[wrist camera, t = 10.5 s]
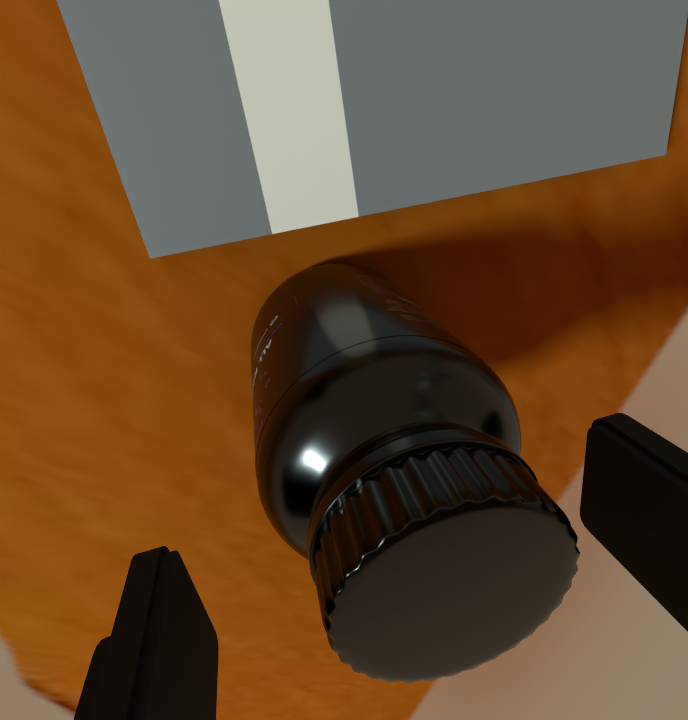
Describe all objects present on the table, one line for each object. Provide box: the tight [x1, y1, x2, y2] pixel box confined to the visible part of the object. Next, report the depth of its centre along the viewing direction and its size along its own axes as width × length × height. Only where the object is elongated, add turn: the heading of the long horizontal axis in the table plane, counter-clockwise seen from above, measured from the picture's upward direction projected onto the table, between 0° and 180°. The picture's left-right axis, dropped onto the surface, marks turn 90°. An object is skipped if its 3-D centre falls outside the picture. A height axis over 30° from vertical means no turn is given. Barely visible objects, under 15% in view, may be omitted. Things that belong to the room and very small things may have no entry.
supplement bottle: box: [251, 263, 580, 683], centre depth 13 cm, size 7×7×12 cm
